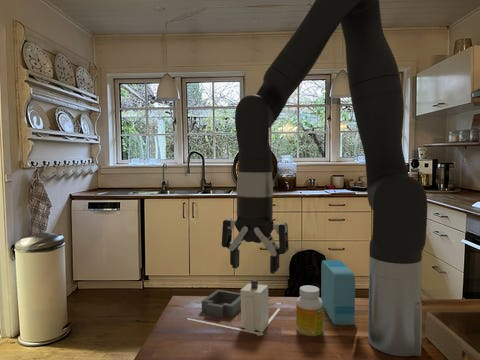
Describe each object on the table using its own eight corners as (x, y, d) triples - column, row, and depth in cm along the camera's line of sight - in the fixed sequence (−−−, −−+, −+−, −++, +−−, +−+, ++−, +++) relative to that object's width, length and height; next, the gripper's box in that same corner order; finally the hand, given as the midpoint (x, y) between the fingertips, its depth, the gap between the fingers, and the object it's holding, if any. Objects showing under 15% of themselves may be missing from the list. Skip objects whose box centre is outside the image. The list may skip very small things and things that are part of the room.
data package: (354, 329, 74) (355, 274, 74) (333, 329, 74) (334, 274, 74) (339, 306, 86) (339, 258, 86) (321, 306, 86) (321, 258, 86)
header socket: (253, 305, 85) (253, 295, 85) (237, 321, 76) (237, 310, 76) (217, 299, 89) (217, 289, 89) (198, 313, 80) (198, 302, 80)
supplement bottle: (321, 343, 69) (321, 294, 68) (293, 338, 71) (293, 291, 70) (324, 330, 74) (324, 285, 73) (298, 326, 76) (299, 282, 75)
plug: (268, 322, 76) (267, 278, 75) (259, 333, 71) (258, 286, 70) (249, 318, 78) (248, 276, 77) (239, 329, 72) (238, 284, 72)
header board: (282, 313, 82) (282, 308, 82) (261, 341, 70) (261, 336, 70) (215, 301, 90) (215, 297, 90) (185, 324, 77) (185, 320, 77)
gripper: (292, 193, 74) (291, 269, 74) (231, 191, 79) (231, 261, 80) (282, 197, 67) (281, 280, 68) (216, 193, 73) (215, 270, 73)
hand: (254, 270), depth 74 cm, fingers open, 8 cm apart
